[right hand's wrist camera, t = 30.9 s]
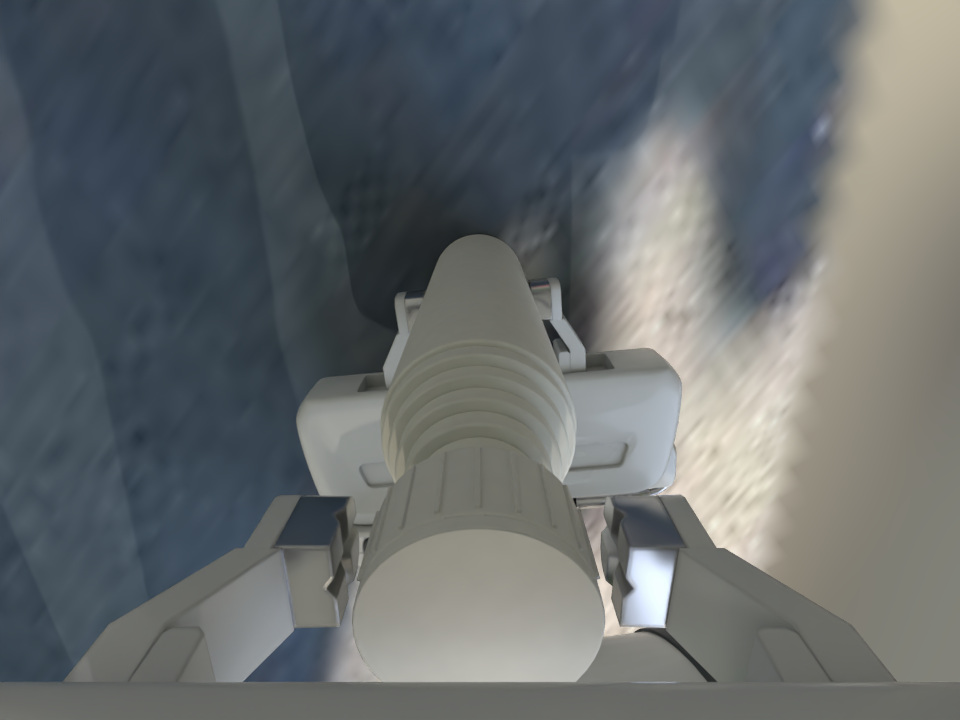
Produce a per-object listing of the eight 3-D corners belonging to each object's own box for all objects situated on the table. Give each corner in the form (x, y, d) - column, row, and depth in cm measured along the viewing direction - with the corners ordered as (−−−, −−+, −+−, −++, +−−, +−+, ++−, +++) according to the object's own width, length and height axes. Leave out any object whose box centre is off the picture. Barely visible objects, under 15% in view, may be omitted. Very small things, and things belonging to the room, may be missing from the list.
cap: (620, 494, 10) (658, 585, 8) (520, 634, 12) (530, 744, 9) (427, 409, 10) (412, 484, 7) (344, 569, 11) (312, 672, 9)
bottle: (522, 320, 33) (621, 694, 10) (436, 322, 33) (343, 700, 10) (522, 232, 31) (647, 453, 8) (431, 235, 31) (301, 461, 8)
